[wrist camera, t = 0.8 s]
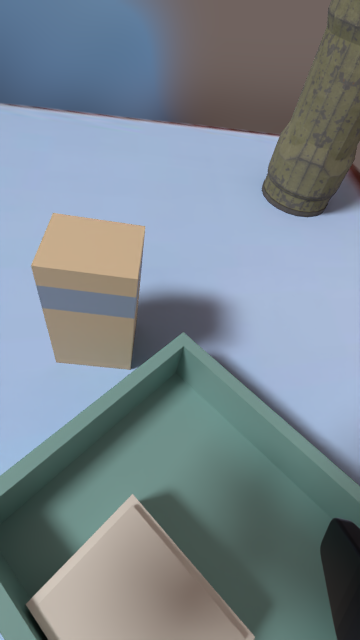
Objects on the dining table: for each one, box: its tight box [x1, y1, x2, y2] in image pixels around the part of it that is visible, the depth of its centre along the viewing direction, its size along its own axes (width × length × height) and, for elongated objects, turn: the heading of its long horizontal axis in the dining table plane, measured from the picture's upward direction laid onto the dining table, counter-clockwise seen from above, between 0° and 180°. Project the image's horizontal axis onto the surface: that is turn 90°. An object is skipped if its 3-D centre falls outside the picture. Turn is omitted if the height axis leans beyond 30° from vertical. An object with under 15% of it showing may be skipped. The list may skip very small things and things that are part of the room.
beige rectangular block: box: [26, 494, 255, 640], centre depth 16 cm, size 6×8×3 cm
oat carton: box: [31, 213, 145, 370], centre depth 23 cm, size 4×6×10 cm
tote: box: [0, 332, 360, 640], centre depth 18 cm, size 16×18×4 cm
